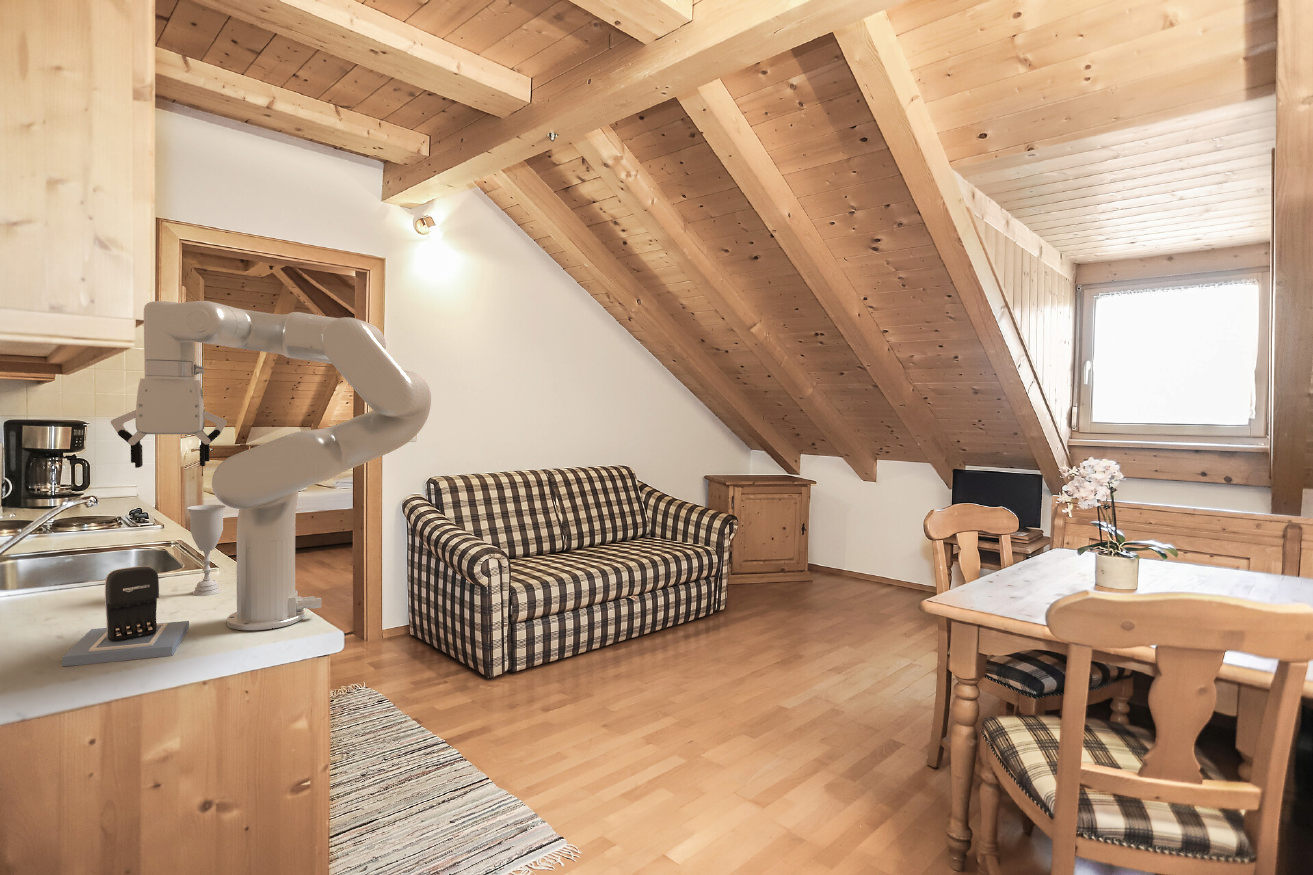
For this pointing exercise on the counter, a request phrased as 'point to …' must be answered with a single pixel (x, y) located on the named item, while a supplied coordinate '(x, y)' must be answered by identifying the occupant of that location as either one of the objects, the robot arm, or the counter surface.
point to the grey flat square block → (126, 645)
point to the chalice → (206, 540)
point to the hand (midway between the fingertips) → (171, 466)
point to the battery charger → (131, 602)
